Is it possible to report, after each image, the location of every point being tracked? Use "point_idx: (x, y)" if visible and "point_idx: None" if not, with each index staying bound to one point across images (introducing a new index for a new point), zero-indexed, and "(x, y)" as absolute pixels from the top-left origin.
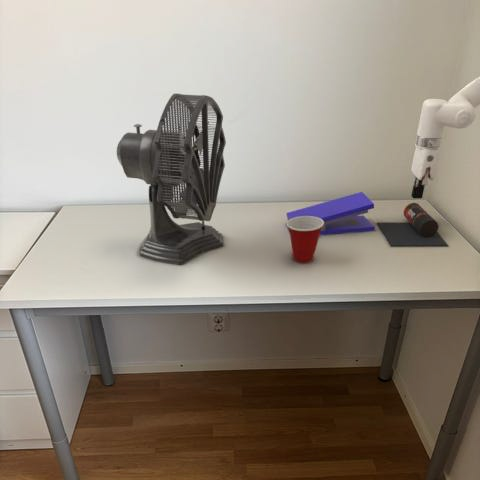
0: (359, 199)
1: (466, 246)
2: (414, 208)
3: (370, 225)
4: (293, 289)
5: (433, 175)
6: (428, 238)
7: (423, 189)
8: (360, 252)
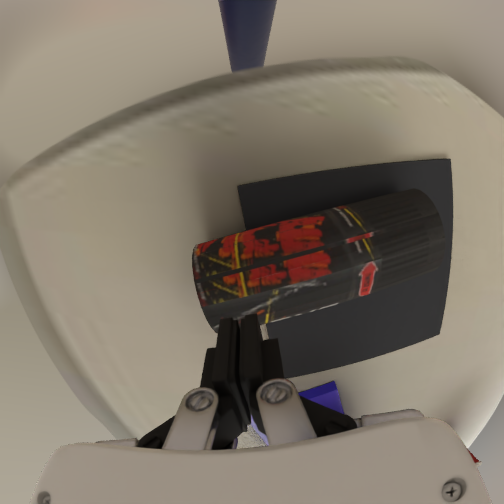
0: None
1: (436, 91)
2: (283, 311)
3: (327, 399)
4: (489, 410)
5: (471, 464)
6: None
7: (260, 359)
8: (443, 382)
